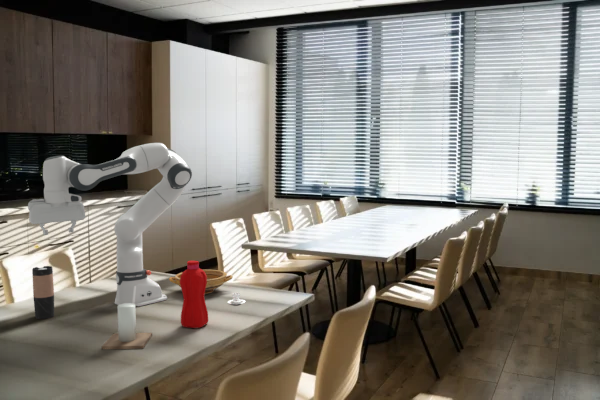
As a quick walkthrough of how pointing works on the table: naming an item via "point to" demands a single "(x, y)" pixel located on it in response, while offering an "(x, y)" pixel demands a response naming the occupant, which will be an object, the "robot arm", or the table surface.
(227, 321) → the table surface
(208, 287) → the wicker basket
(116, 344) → the walnut coaster
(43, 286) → the travel mug
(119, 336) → the white rounded block
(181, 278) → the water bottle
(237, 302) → the teacup and saucer
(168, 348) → the table surface
